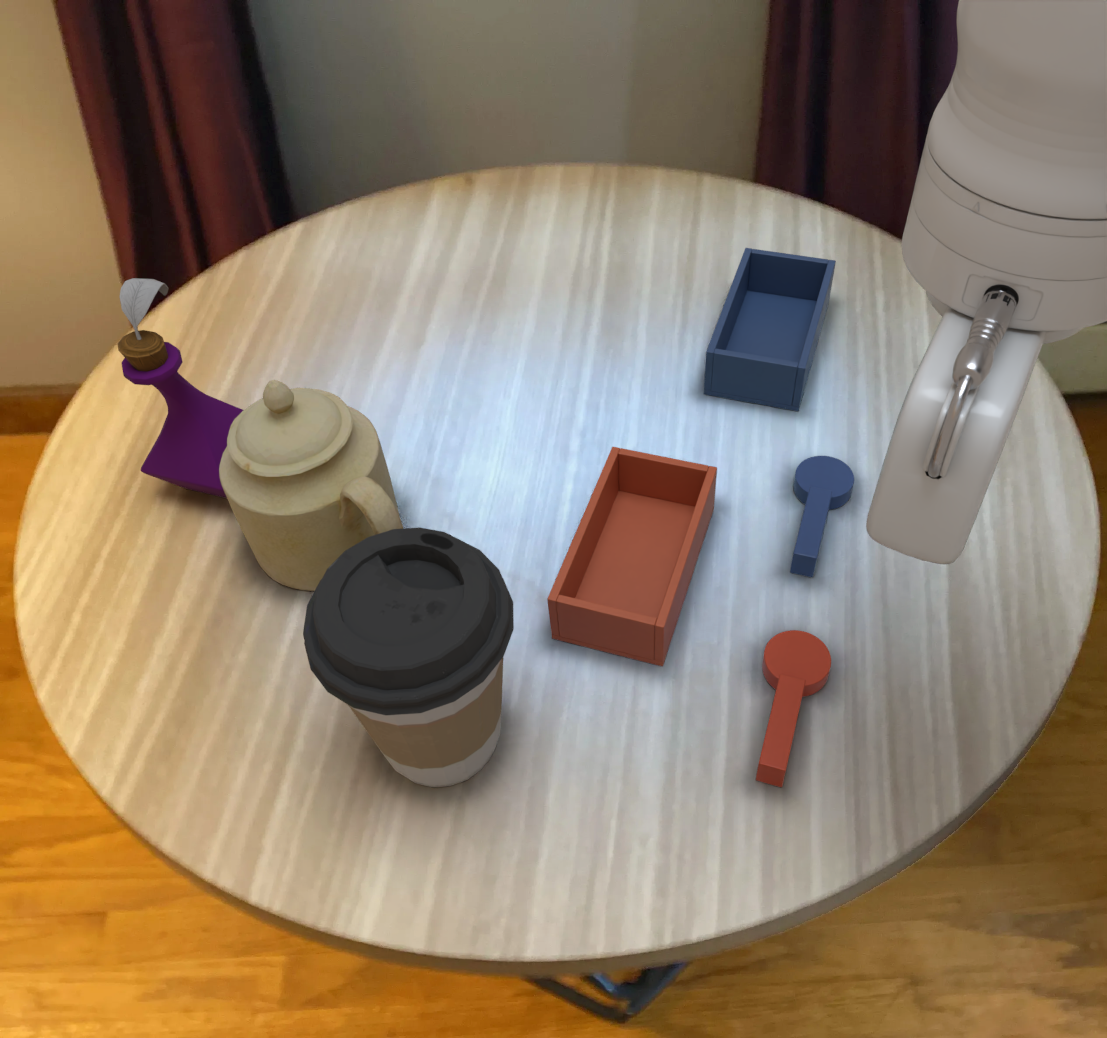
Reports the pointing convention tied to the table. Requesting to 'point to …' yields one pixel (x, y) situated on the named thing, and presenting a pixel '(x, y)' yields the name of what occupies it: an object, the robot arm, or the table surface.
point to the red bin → (633, 556)
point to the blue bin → (769, 329)
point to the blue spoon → (817, 505)
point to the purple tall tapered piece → (174, 401)
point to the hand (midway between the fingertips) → (945, 475)
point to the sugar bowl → (305, 481)
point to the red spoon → (789, 694)
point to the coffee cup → (415, 649)
